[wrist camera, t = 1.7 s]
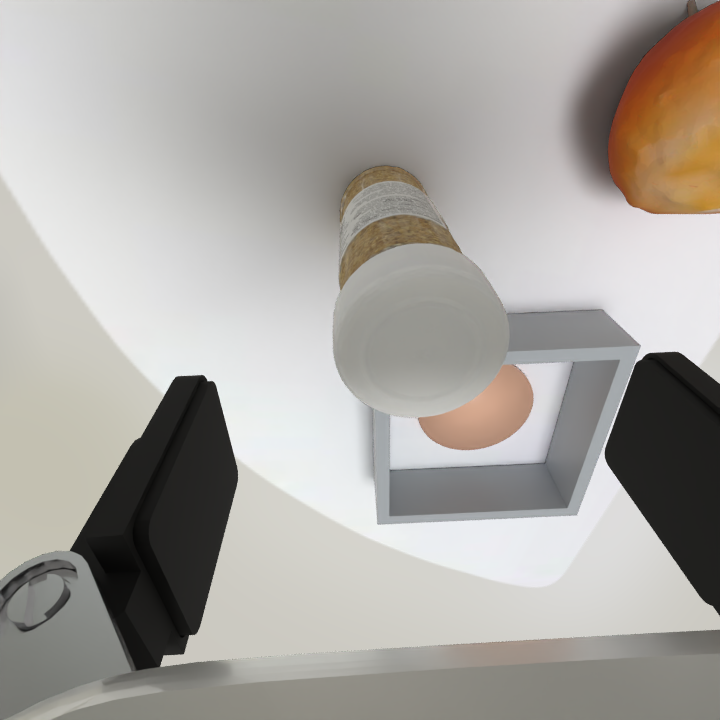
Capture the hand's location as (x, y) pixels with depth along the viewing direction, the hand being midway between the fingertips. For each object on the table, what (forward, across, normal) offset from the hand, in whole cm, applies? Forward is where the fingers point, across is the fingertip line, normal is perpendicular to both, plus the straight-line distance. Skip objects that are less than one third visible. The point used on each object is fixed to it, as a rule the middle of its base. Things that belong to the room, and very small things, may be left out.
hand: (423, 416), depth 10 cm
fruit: (+15, -13, -5) cm, 21 cm away
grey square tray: (+15, -6, +12) cm, 20 cm away
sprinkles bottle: (+15, 0, -1) cm, 15 cm away
